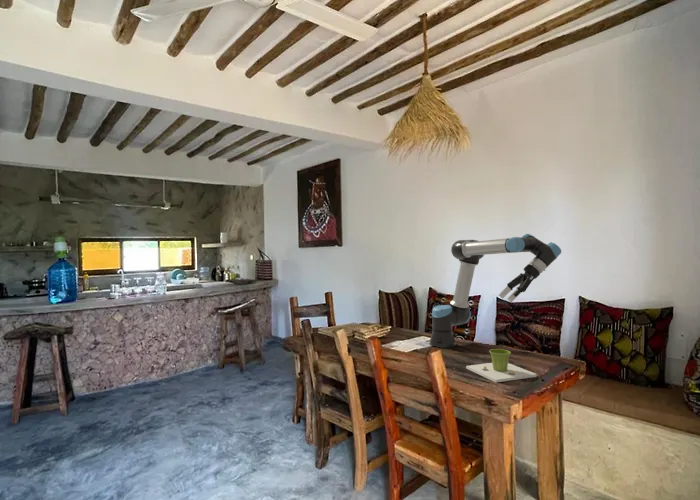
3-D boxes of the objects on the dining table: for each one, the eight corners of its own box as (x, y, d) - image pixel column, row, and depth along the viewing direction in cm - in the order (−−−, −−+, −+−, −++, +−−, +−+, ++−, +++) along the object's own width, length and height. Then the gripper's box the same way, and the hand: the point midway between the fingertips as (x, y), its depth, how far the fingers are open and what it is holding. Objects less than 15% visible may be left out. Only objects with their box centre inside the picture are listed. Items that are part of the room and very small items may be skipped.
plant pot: (501, 365, 196) (501, 348, 196) (515, 371, 187) (515, 352, 187) (485, 368, 193) (485, 350, 193) (498, 373, 184) (498, 354, 184)
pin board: (466, 368, 197) (466, 362, 197) (503, 363, 203) (503, 358, 203) (495, 382, 176) (495, 376, 176) (536, 376, 183) (536, 370, 183)
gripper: (550, 275, 191) (518, 307, 192) (530, 272, 216) (502, 300, 217) (539, 264, 191) (507, 296, 192) (520, 262, 216) (492, 290, 217)
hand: (504, 298), depth 205 cm, fingers open, 13 cm apart
